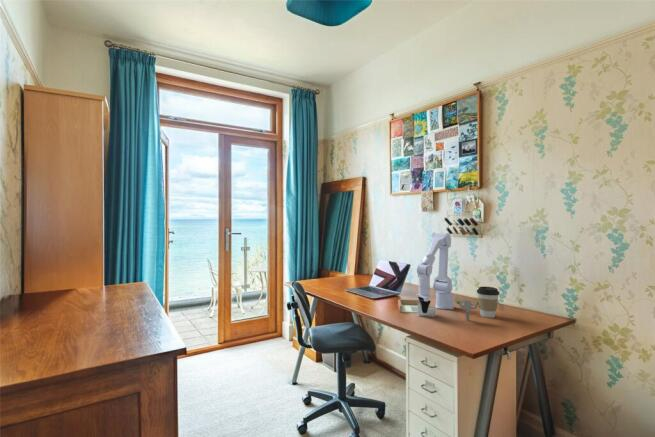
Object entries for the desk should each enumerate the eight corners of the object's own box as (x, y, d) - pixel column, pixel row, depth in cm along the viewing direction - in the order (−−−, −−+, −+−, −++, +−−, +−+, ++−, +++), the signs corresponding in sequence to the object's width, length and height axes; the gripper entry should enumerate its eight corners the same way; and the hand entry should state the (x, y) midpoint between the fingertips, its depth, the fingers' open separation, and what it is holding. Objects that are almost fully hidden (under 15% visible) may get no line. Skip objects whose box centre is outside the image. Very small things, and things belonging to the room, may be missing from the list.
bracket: (433, 314, 187) (433, 301, 187) (435, 316, 183) (435, 303, 183) (417, 314, 188) (417, 301, 188) (417, 316, 184) (418, 303, 184)
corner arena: (426, 306, 205) (426, 300, 205) (430, 313, 189) (430, 307, 189) (397, 304, 207) (397, 299, 207) (399, 312, 191) (399, 305, 191)
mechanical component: (478, 321, 175) (478, 302, 175) (457, 320, 177) (457, 301, 177) (477, 320, 178) (477, 300, 177) (456, 318, 180) (456, 299, 180)
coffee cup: (476, 312, 193) (477, 285, 193) (499, 314, 188) (499, 287, 188) (475, 317, 183) (476, 289, 183) (499, 320, 178) (499, 291, 178)
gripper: (415, 283, 194) (414, 307, 194) (418, 288, 179) (418, 314, 179) (428, 284, 193) (427, 308, 193) (432, 289, 178) (432, 315, 178)
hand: (424, 311), depth 186 cm, fingers open, 5 cm apart
